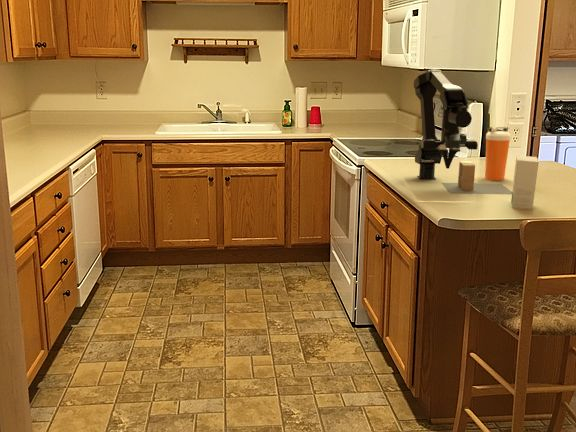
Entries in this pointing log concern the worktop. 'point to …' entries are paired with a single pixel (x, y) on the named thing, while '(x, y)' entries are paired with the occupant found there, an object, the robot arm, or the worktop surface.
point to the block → (466, 175)
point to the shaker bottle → (496, 152)
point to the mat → (478, 188)
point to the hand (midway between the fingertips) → (447, 168)
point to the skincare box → (524, 182)
